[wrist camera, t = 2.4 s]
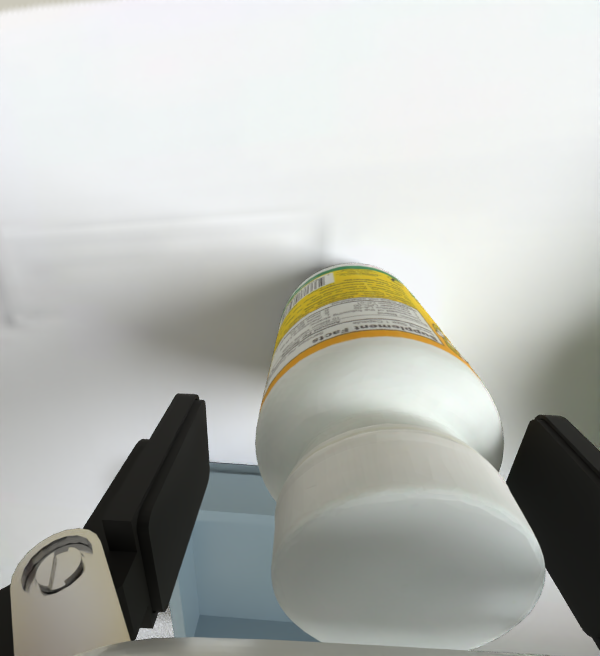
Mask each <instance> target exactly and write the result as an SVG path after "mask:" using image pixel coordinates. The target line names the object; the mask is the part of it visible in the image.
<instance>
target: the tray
mask: <svg viewBox="0 0 600 656" xmlns="http://www.w3.org/2000/svg"><path fill="white" fill-rule="evenodd" d="M209 466H210V475H209V481H208V485H207V488H206V491H205V494H204V497H203V500H202V503H201V506H200V509H199V513H198V516H197V519H196V522H195V525H194V528H193V531H192V534H191V537H190V540H189V543H188V547H187V550H186V553H185V556H184V559H183V562H182V565H181V568H180V571H179V574H178V577H177V580H176V584H175V587H174V590H173V593H172V596H171V599H170V602H169V605H170V611H171V618H172V624H173V631H174V637H175V638H180V637H205V638H235V639H266V640H287V641H305V642H320V641H319V640H317V639H315V638H314V637H312V636H310V635H309V634H307V633H306V632H304V631H303V630H302V629H301V628H300V627H298V626H297V625H296V624H294V622H293V621H291V620H290V618H289V617H288V616H287V615H286V614H285V612H284V611H283V610H282V608H281V607H280V605H279V603H278V601H277V599H276V596H275V594H274V590H273V585H272V579H271V565H272V555H273V544H274V532H275V509H276V504H277V502H276V501H275V500H274V498H273V497H272V496H271V494H270V492H269V491H268V489H267V487H266V485H265V483H264V481H263V478H262V476H261V473H260V470H259V466H252V465H238V464H225V463H211V462H209Z"/></svg>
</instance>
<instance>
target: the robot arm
mask: <svg viewBox="0 0 600 656" xmlns="http://www.w3.org/2000/svg"><path fill="white" fill-rule="evenodd" d="M209 475H210V466H209V451H208V435H207V420H206V405H205V401H204V400H199V396H198V395H196V394H179V393H178V394H177V395H176V396H175V397H174V399H173V401H172V402H171V404H170V406H169V407H168V409H167V411H166V412H165V414H164V416H163V417H162V419H161V421H160V422H159V424H158V426H157V427H156V429H155V431H154V433H153V434H152V436H151V438H150V439H142V440H140V441H139V442H138V443H137V444H136V445H135V447H134V449H133V450H132V452H131V453H130V455H129V456H128V458H127V460H126V461H125V463H124V464H123V466H122V467H121V469H120V471H119V472H118V474H117V475H116V477H115V479H114V480H113V482H112V483H111V485H110V486H109V488H108V490H107V491H106V493H105V494H104V496H103V497H102V499H101V501H100V502H99V504H98V505H97V507H96V509H95V510H94V512H93V513H92V515H91V516H90V518H89V520H88V521H87V523H86V524H85V526H84V527H83V529H80V528H77V529H70V530H65V531H62V532H59V533H57V534H54V535H52V536H50V537H48V538H47V539H45V540H43V541H42V542H40V543H39V544H37V545H36V546H35V547H34V548H33V549H31V550H30V551H29V552H28V553H27V554H26V555H25V557H24V558H23V559H22V560H21V561H20V563H19V564H18V566H17V568H16V570H15V572H14V574H13V576H12V579H11V584H10V585H8V586H7V587H5V588H3V589H1V590H0V656H550V655H534V654H518V653H501V652H484V651H468V650H451V649H433V648H416V647H399V646H381V645H362V644H343V643H324V642H305V641H287V640H266V639H235V638H205V637H180V638H151V639H143V640H135V639H136V637H137V634H138V631H139V629H140V628H152V629H153V626H154V624H155V621H156V618H157V615H158V612H165V611H166V609H167V607H168V605H169V602H170V599H171V596H172V593H173V590H174V587H175V584H176V580H177V577H178V574H179V571H180V568H181V565H182V562H183V559H184V556H185V553H186V550H187V547H188V543H189V540H190V537H191V534H192V531H193V528H194V525H195V522H196V519H197V516H198V513H199V509H200V506H201V503H202V500H203V497H204V494H205V491H206V488H207V485H208V481H209ZM506 484H507V486H508V488H509V490H510V492H511V494H512V496H513V498H514V499H515V501H516V503H517V504H518V506H519V508H520V510H521V511H522V513H523V515H524V517H525V519H526V520H527V522H528V524H529V526H530V527H531V529H532V531H533V533H534V535H535V537H536V539H537V541H538V543H539V546H540V548H541V551H542V554H543V557H544V563H545V568H546V569H547V571H548V573H549V574H550V576H551V578H552V579H553V581H554V583H555V584H556V586H557V588H558V589H559V591H560V593H561V594H562V596H563V598H564V599H565V601H566V603H567V604H568V606H569V608H570V610H571V611H572V613H573V615H574V616H575V618H576V620H577V621H578V623H579V625H580V626H581V628H582V629H583V631H584V632H585V633H586V634H587V635H588V636H590V637H592V638H593V640H594V642H595V643H596V645H597V647H598V648H599V650H600V451H599V450H598V449H597V448H596V447H595V446H594V445H593V444H592V443H591V442H590V441H589V440H588V439H587V438H586V437H584V436H583V435H582V434H581V433H580V432H579V431H578V430H577V429H576V428H575V427H574V426H573V425H572V424H571V423H570V422H569V421H568V420H567V419H566V418H564V417H562V416H552V415H538V416H537V417H536V418H535V419H534V420H532V421H530V423H529V425H528V427H527V430H526V432H525V435H524V438H523V440H522V443H521V445H520V448H519V450H518V453H517V455H516V458H515V460H514V463H513V465H512V468H511V471H510V473H509V476H508V478H507V481H506ZM134 640H135V641H134Z"/></svg>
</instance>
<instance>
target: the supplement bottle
mask: <svg viewBox="0 0 600 656" xmlns="http://www.w3.org/2000/svg"><path fill="white" fill-rule="evenodd" d="M255 445H256V456H257V462H258V466H259V470H260V473H261V476H262V478H263V481H264V483H265V485H266V487H267V489H268V491H269V492H270V494H271V496H272V497H273V498H274V500H275V501H276V502H277V504H276V509H275V532H274V544H273V555H272V565H271V579H272V585H273V590H274V594H275V596H276V599H277V601H278V603H279V605H280V607H281V608H282V610H283V611H284V612H285V614H286V615H287V616H288V617H289V618H290V620H291V621H293V622H294V624H296V625H297V626H298V627H300V628H301V629H302V630H303V631H304V632H306V633H307V634H309V635H310V636H312V637H314V638H315V639H317V640H319V641H320V642H324V643H343V644H362V645H381V646H399V647H416V648H433V649H451V650H471V649H475V648H478V647H480V646H482V645H485V644H487V643H489V642H491V641H493V640H495V639H498V638H499V637H501V636H502V635H504V634H505V633H507V632H508V631H510V630H511V629H512V628H513V627H514V626H516V625H517V624H518V623H520V622H521V621H522V620H523V619H524V618H525V617H526V616H527V615H528V614H529V613H530V612H531V610H532V609H533V608H534V606H535V604H536V602H537V601H538V599H539V597H540V595H541V592H542V589H543V586H544V581H545V563H544V557H543V554H542V551H541V548H540V546H539V543H538V541H537V539H536V537H535V535H534V533H533V531H532V529H531V527H530V526H529V524H528V522H527V520H526V519H525V517H524V515H523V513H522V511H521V510H520V508H519V506H518V504H517V503H516V501H515V499H514V498H513V496H512V494H511V492H510V490H509V488H508V486H507V484H506V482H505V481H504V479H503V478H502V476H501V475H500V474H499V470H500V467H501V463H502V457H503V446H504V440H503V430H502V425H501V420H500V416H499V413H498V411H497V408H496V406H495V403H494V401H493V399H492V398H491V396H490V394H489V392H488V390H487V389H486V387H485V386H484V384H483V383H482V381H481V380H480V378H479V377H478V376H477V375H476V373H475V372H474V371H473V370H472V368H471V367H470V365H469V364H468V362H467V361H466V360H465V359H464V358H463V357H462V356H461V355H460V353H459V352H458V351H457V350H456V349H455V347H454V346H453V345H452V344H451V342H450V341H449V340H448V338H447V337H446V336H445V335H444V334H443V332H442V331H441V330H440V328H439V327H438V326H437V324H436V323H435V322H434V321H433V320H432V318H431V317H430V316H429V314H428V313H427V312H426V311H425V310H424V308H423V307H422V306H421V305H420V303H419V302H418V300H417V299H416V298H415V297H414V296H413V295H412V294H411V293H410V291H409V290H408V289H407V288H406V287H405V286H404V285H403V283H402V282H401V281H400V280H399V279H397V278H396V277H395V276H394V275H392V274H391V273H389V272H387V271H385V270H383V269H381V268H378V267H375V266H372V265H367V264H359V263H346V264H339V265H335V266H331V267H328V268H326V269H323V270H321V271H319V272H317V273H315V274H313V275H312V276H310V277H309V278H307V279H306V280H305V281H304V282H303V283H302V284H300V285H299V286H298V288H297V289H296V290H295V291H294V292H293V294H292V295H291V297H290V298H289V300H288V302H287V304H286V306H285V309H284V311H283V314H282V317H281V321H280V325H279V331H278V335H277V339H276V344H275V348H274V353H273V358H272V362H271V366H270V370H269V374H268V378H267V383H266V387H265V391H264V395H263V399H262V403H261V408H260V413H259V417H258V422H257V427H256V440H255Z"/></svg>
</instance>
